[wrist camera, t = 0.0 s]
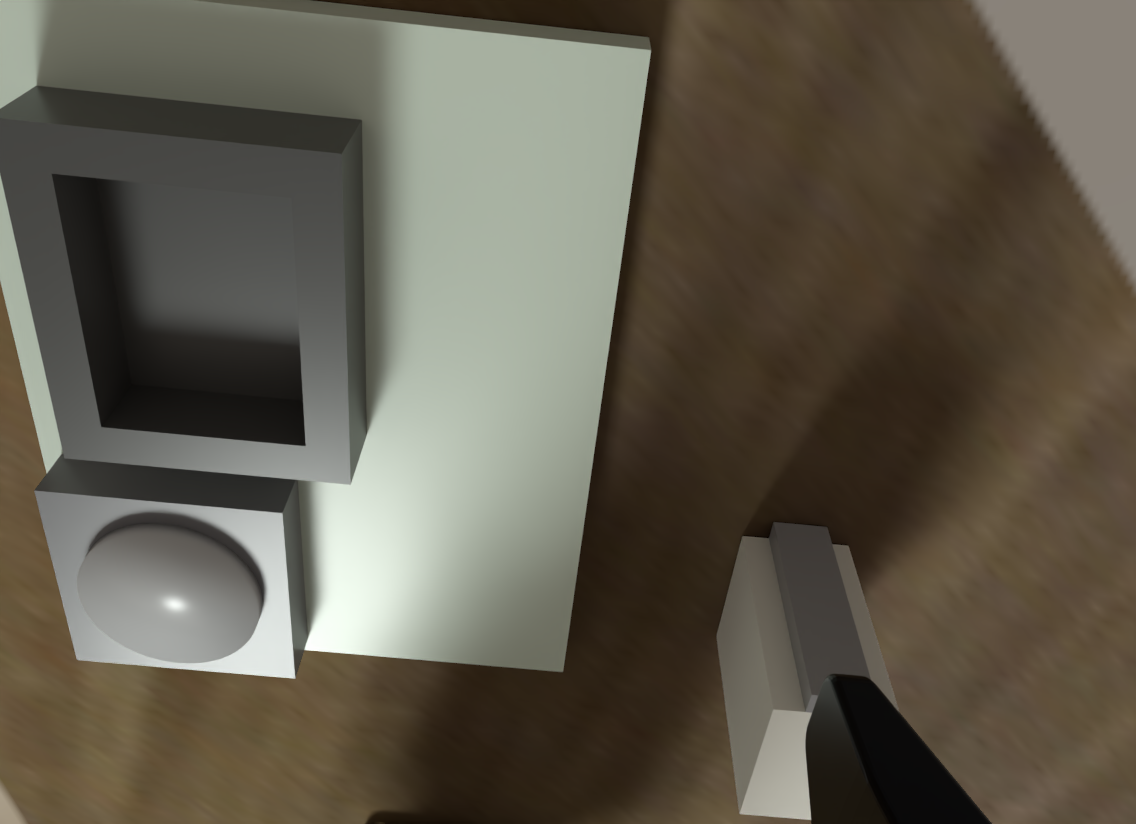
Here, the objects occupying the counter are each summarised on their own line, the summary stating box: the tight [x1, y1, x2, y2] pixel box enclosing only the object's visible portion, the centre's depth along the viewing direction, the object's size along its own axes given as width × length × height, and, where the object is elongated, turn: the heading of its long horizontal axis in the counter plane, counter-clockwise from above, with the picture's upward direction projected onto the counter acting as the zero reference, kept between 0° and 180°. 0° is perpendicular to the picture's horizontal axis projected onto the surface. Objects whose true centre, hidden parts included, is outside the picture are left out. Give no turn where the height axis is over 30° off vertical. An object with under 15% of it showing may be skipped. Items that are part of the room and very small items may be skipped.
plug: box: [716, 522, 900, 820], centre depth 27 cm, size 5×3×6 cm, turn 175°
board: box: [0, 0, 651, 678], centre depth 24 cm, size 18×14×3 cm
